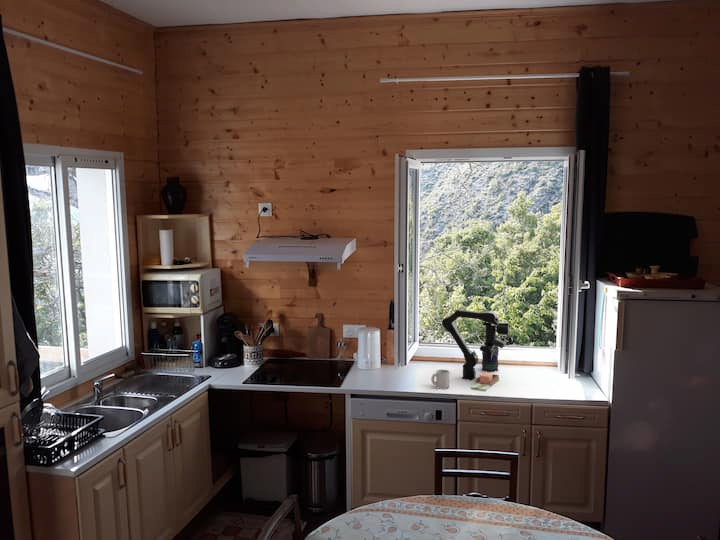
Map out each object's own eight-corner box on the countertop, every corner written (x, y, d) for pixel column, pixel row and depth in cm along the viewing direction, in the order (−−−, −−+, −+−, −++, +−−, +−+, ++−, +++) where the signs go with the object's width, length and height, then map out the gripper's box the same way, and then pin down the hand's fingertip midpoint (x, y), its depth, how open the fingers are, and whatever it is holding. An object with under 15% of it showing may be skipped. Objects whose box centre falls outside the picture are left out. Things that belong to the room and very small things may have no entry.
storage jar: (479, 370, 368) (479, 346, 366) (484, 366, 376) (485, 343, 375) (495, 372, 363) (495, 348, 361) (500, 368, 371) (500, 345, 369)
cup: (450, 388, 334) (450, 373, 332) (432, 389, 333) (432, 373, 332) (448, 384, 341) (448, 369, 340) (430, 385, 340) (430, 369, 339)
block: (479, 382, 341) (479, 375, 341) (483, 379, 346) (483, 372, 346) (489, 383, 338) (489, 376, 338) (492, 381, 344) (492, 374, 343)
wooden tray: (470, 388, 333) (470, 383, 333) (484, 377, 353) (484, 372, 353) (485, 391, 329) (485, 385, 328) (498, 380, 348) (498, 375, 348)
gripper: (499, 338, 333) (498, 365, 335) (509, 331, 349) (508, 358, 351) (479, 336, 338) (479, 363, 340) (490, 329, 354) (490, 355, 356)
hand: (490, 360), depth 347 cm, fingers closed
